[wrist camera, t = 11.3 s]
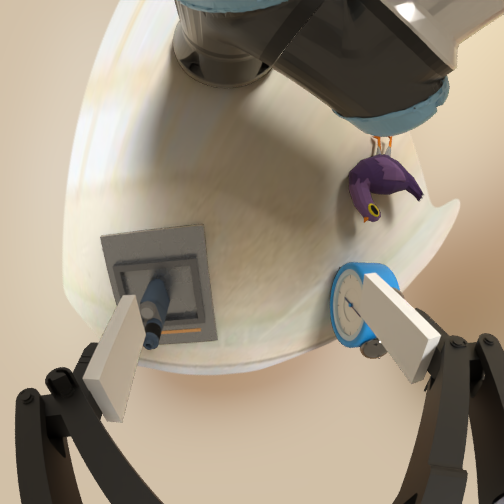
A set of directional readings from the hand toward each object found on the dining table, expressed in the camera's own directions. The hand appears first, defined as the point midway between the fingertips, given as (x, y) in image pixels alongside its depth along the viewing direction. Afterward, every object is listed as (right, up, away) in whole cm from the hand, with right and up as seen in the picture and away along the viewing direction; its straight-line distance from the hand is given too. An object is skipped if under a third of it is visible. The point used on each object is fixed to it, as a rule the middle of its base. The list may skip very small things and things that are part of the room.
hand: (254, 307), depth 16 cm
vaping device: (-15, -3, +28) cm, 32 cm away
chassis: (-15, -3, +28) cm, 32 cm away
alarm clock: (+16, -3, +33) cm, 37 cm away
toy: (+20, +15, +27) cm, 37 cm away
